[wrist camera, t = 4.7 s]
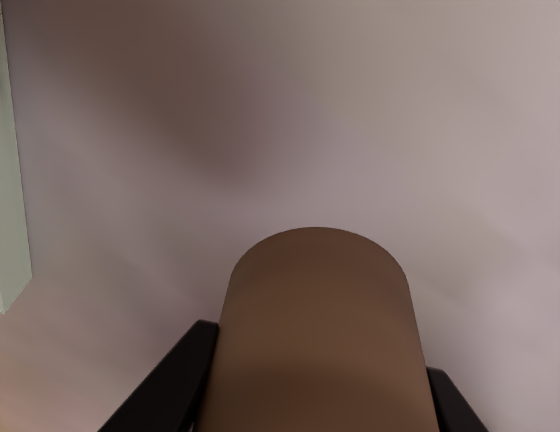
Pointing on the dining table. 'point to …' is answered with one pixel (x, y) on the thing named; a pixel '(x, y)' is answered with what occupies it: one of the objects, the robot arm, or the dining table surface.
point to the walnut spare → (317, 341)
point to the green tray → (10, 197)
